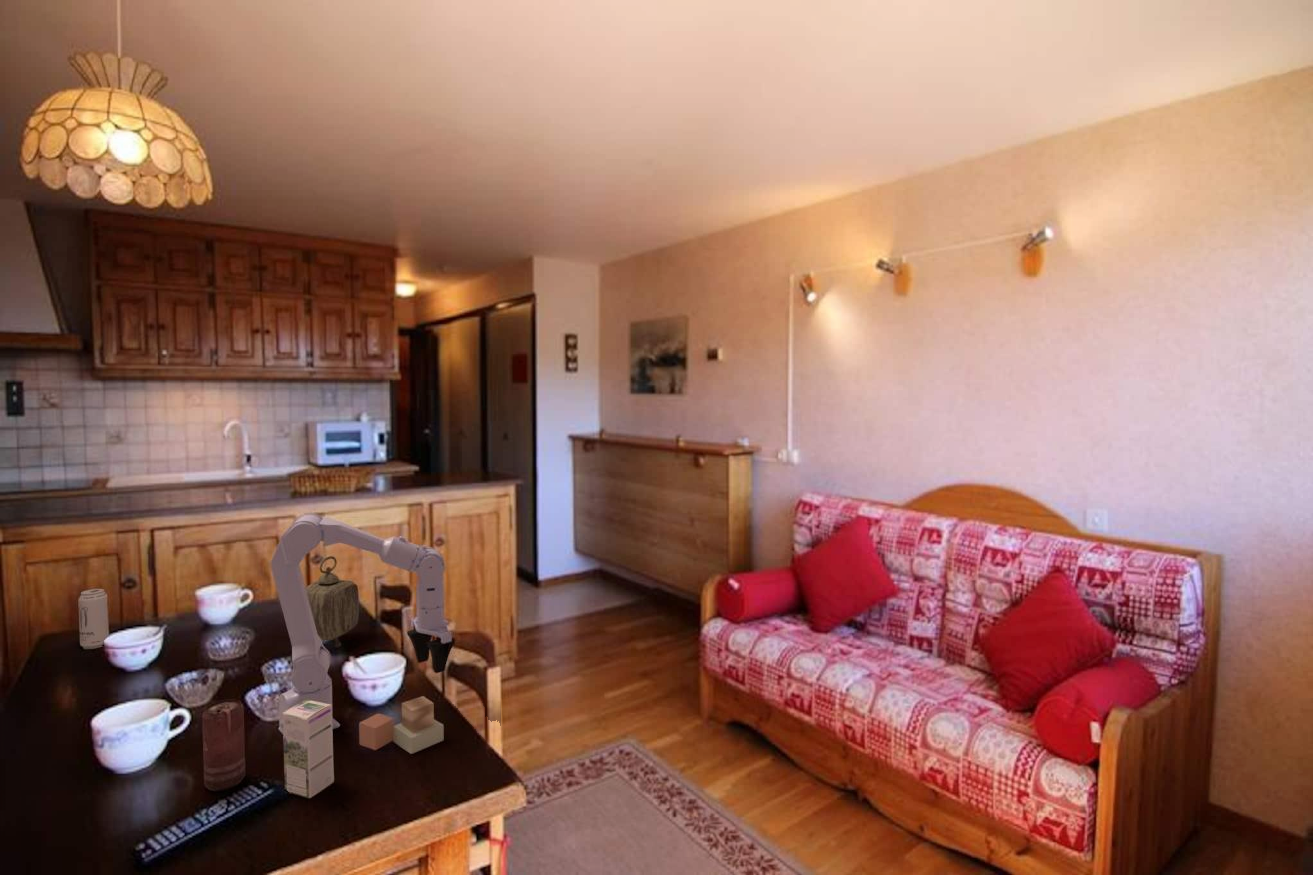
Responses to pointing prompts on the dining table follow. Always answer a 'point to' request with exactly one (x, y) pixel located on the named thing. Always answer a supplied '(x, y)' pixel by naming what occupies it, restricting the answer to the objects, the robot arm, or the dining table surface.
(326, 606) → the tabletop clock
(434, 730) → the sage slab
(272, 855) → the dining table surface
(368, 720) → the terracotta cube
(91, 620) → the energy drink can
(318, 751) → the syrup box
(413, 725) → the maple cube
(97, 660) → the dining table surface
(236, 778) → the can
